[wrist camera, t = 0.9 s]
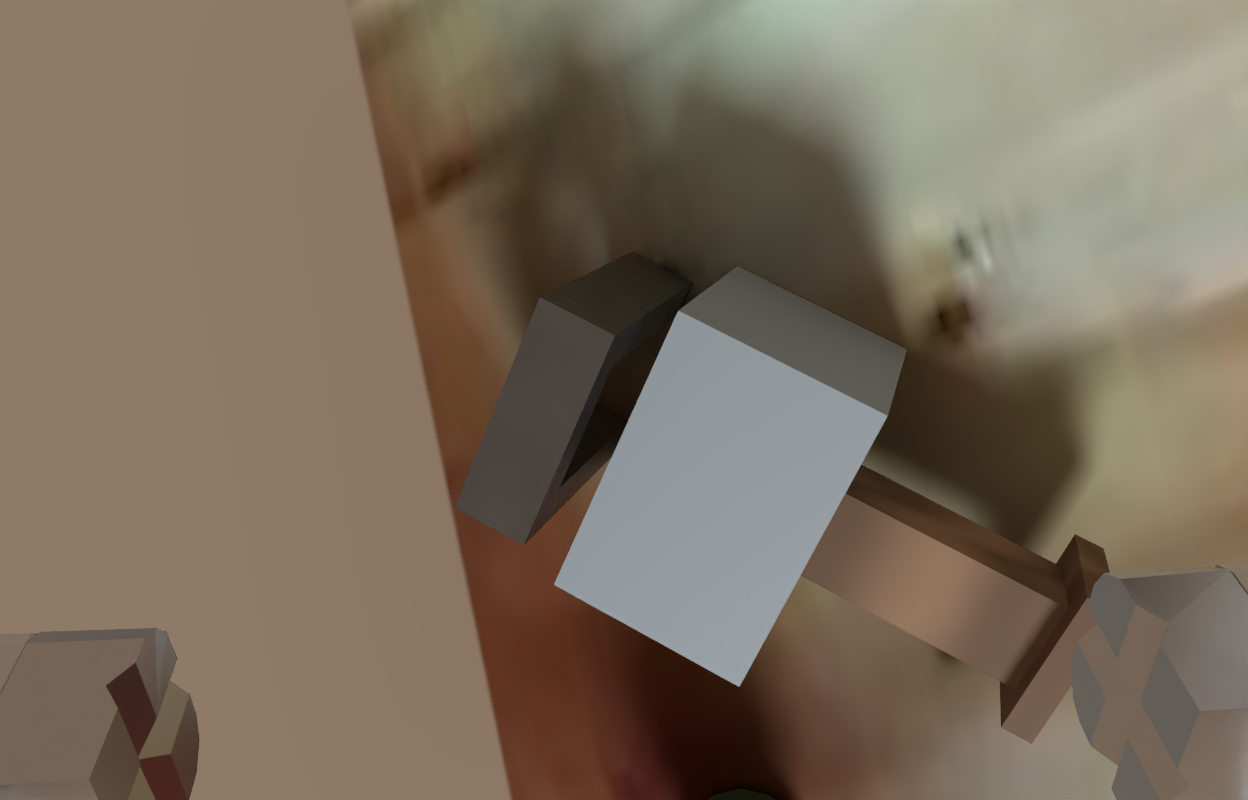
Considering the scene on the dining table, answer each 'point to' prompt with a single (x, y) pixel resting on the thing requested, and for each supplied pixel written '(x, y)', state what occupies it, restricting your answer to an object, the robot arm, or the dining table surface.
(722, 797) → the character mug
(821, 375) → the grey rectangular block
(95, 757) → the robot arm
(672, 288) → the block
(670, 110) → the dining table surface
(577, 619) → the dining table surface
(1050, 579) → the shaft
